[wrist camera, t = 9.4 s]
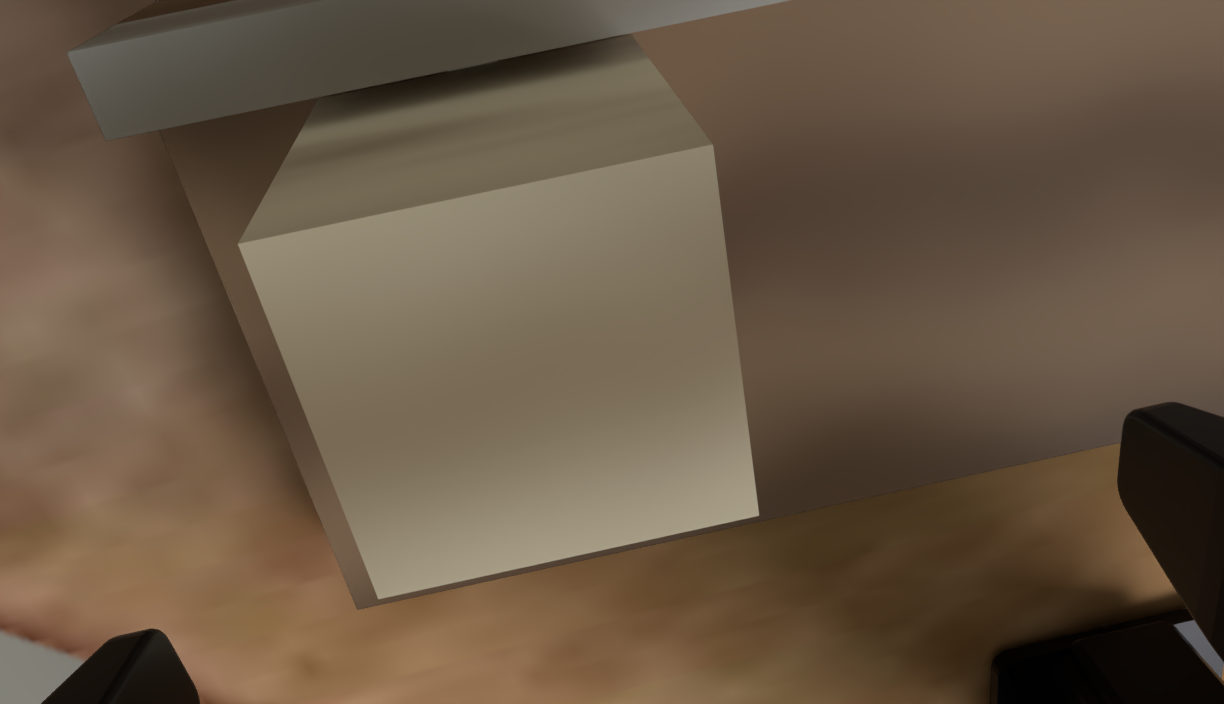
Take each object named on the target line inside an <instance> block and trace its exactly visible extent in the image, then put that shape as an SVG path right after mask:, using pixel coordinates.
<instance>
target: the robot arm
mask: <svg viewBox="0 0 1224 704" xmlns="http://www.w3.org/2000/svg"><path fill="white" fill-rule="evenodd" d="M1117 482H1118V491H1119V495H1120V498H1121V501H1122V503H1123V505H1124V507H1125V509H1126V511H1127V512H1128V514H1129V516H1130V517H1131V519H1132V520H1133V522H1134V524H1135V525H1136V527H1137V528H1138V530H1139V532H1140V533H1141V535H1142V537H1143V538H1144V540H1145V541H1146V543H1147V545H1148V546H1149V548H1150V549H1151V551H1152V553H1153V554H1154V556H1155V558H1156V559H1157V561H1158V562H1159V564H1160V566H1161V567H1162V569H1163V571H1164V572H1165V574H1166V575H1167V577H1168V579H1169V580H1170V582H1171V583H1172V585H1173V587H1174V588H1175V590H1176V592H1177V593H1178V595H1179V596H1180V598H1181V600H1182V601H1183V603H1184V604H1185V606H1186V608H1187V609H1185V610H1180V611H1176V612H1171V613H1167V614H1162V615H1158V616H1154V617H1149V618H1145V619H1140V620H1136V621H1131V622H1127V623H1122V624H1118V625H1113V626H1109V627H1105V628H1100V629H1096V630H1091V631H1087V632H1082V633H1078V634H1073V635H1069V636H1064V637H1060V638H1055V639H1051V640H1047V641H1042V642H1038V643H1033V644H1029V645H1024V646H1020V647H1015V648H1011V649H1008V650H1005V651H1002V652H1001V653H1000V654H998V655H997V656H996V657H995V658H994V659H993V661H992V664H991V685H990V704H1224V681H1223V680H1222V679H1221V676H1222V671H1223V666H1224V417H1222V416H1219V415H1216V414H1213V413H1210V412H1206V411H1203V410H1200V409H1197V408H1194V407H1191V406H1188V405H1185V404H1182V403H1178V402H1165V403H1160V404H1156V405H1151V406H1147V407H1142V408H1138V409H1134V410H1132V411H1131V412H1129V413H1128V414H1127V415H1126V417H1125V419H1124V422H1123V427H1122V437H1121V447H1120V457H1119V468H1118V478H1117ZM41 704H200V700H199V695H198V692H197V689H196V687H195V685H194V683H193V681H192V680H191V678H190V676H189V674H188V673H187V671H186V669H185V667H184V665H183V664H182V662H181V660H180V658H179V657H178V655H177V653H176V651H175V650H174V648H173V646H172V644H171V642H170V641H169V639H168V638H167V636H166V635H165V634H164V633H163V632H161V631H160V630H158V629H146V630H142V631H137V632H133V633H128V634H124V635H119V636H116V637H113V638H111V639H110V640H108V641H107V642H106V643H104V644H103V645H102V646H101V647H100V648H99V649H98V650H97V651H96V652H95V653H94V654H93V655H92V656H91V657H90V658H89V659H88V660H86V661H85V662H84V663H83V664H82V665H81V666H80V667H79V668H78V669H77V670H76V671H75V672H74V673H73V674H72V675H71V676H70V677H69V678H67V679H66V680H65V681H64V682H63V683H62V684H61V685H60V686H59V687H58V688H57V689H56V690H55V691H54V692H53V693H52V694H51V695H50V696H48V697H47V698H46V699H45V700H44V701H43V702H42V703H41Z"/></svg>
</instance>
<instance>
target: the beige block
mask: <svg viewBox="0 0 1224 704" xmlns="http://www.w3.org/2000/svg"><path fill="white" fill-rule="evenodd" d="M238 246H239V248H240V251H241V253H242V256H243V259H244V261H245V264H246V266H247V269H248V271H249V274H250V276H251V279H252V281H253V284H254V286H255V289H256V291H257V294H258V296H259V299H260V301H261V304H262V306H263V309H264V312H265V314H266V317H267V319H268V322H269V324H270V327H271V329H272V332H273V334H274V337H275V339H276V342H277V344H278V347H279V349H280V352H281V354H282V357H283V360H284V362H285V365H286V367H287V370H288V372H289V375H290V377H291V380H292V382H293V385H294V387H295V390H296V392H297V395H298V397H299V400H300V402H301V405H302V408H303V410H304V413H305V415H306V418H307V420H308V423H309V425H310V428H311V430H312V433H313V435H314V438H315V440H316V443H317V445H318V448H319V450H320V453H321V455H322V458H323V461H324V463H325V466H326V468H327V471H328V473H329V476H330V478H331V481H332V483H333V486H334V488H335V491H336V493H337V496H338V498H339V501H340V503H341V506H342V509H343V511H344V514H345V516H346V519H347V521H348V524H349V526H350V529H351V531H352V534H353V536H354V539H355V541H356V544H357V546H358V549H359V551H360V554H361V557H362V559H363V562H364V564H365V567H366V569H367V572H368V574H369V577H370V579H371V582H372V584H373V587H374V589H375V592H376V594H377V597H378V599H383V598H387V597H392V596H396V595H401V594H405V593H410V592H414V591H419V590H423V589H428V588H433V587H437V586H442V585H446V584H451V583H455V582H460V581H464V580H469V579H474V578H478V577H483V576H487V575H492V574H496V573H501V572H505V571H510V570H514V569H519V568H524V567H528V566H533V565H537V564H542V563H546V562H551V561H555V560H560V559H565V558H569V557H574V556H578V555H583V554H587V553H592V552H596V551H601V550H605V549H610V548H615V547H619V546H624V545H628V544H633V543H637V542H642V541H646V540H651V539H656V538H660V537H665V536H669V535H674V534H678V533H683V532H687V531H692V530H697V529H701V528H706V527H710V526H715V525H719V524H724V523H728V522H733V521H737V520H742V519H747V518H751V517H756V516H759V510H758V502H757V494H756V486H755V478H754V470H753V462H752V454H751V446H750V438H749V430H748V421H747V413H746V405H745V397H744V389H743V381H742V373H741V365H740V357H739V349H738V341H737V333H736V325H735V317H734V309H733V301H732V293H731V285H730V277H729V269H728V261H727V253H726V245H725V237H724V229H723V221H722V213H721V205H720V197H719V188H718V180H717V172H716V164H715V156H714V148H713V144H712V142H711V141H710V140H709V138H708V137H707V136H706V134H705V133H704V132H703V130H702V129H701V128H700V126H699V125H698V124H697V122H696V121H695V119H694V118H693V117H692V115H691V114H690V113H689V111H688V110H687V109H686V107H685V106H684V105H683V103H682V102H681V101H680V99H679V98H678V97H677V95H676V94H675V93H674V91H673V90H672V89H671V87H670V86H669V84H668V83H667V82H666V80H665V79H664V78H663V76H662V75H661V74H660V72H659V71H658V70H657V68H656V67H655V66H654V64H653V63H652V62H651V60H650V59H649V58H648V56H647V55H646V53H645V52H644V51H643V49H642V48H641V47H640V45H639V44H638V43H637V41H636V40H635V39H634V37H633V36H632V35H631V34H629V35H624V36H619V37H615V38H610V39H605V40H600V41H595V42H590V43H585V44H581V45H576V46H571V47H566V48H561V49H556V50H552V51H547V52H542V53H537V54H532V55H527V56H522V57H518V58H513V59H508V60H503V61H498V62H493V63H488V64H484V65H479V66H474V67H469V68H464V69H459V70H455V71H450V72H445V73H440V74H435V75H430V76H425V77H421V78H416V79H411V80H406V81H401V82H396V83H391V84H387V85H382V86H377V87H372V88H367V89H362V90H357V91H353V92H348V93H343V94H338V95H333V96H328V97H324V98H319V99H318V101H317V102H316V104H315V106H314V108H313V110H312V111H311V113H310V115H309V117H308V119H307V120H306V122H305V124H304V126H303V128H302V129H301V131H300V133H299V135H298V137H297V138H296V140H295V142H294V144H293V146H292V147H291V149H290V151H289V153H288V155H287V156H286V158H285V160H284V162H283V164H282V165H281V167H280V169H279V171H278V173H277V174H276V176H275V178H274V180H273V182H272V183H271V185H270V187H269V189H268V191H267V192H266V194H265V196H264V198H263V199H262V201H261V203H260V205H259V207H258V208H257V210H256V212H255V214H254V216H253V217H252V219H251V221H250V223H249V225H248V226H247V228H246V230H245V232H244V234H243V235H242V237H241V239H240V241H239V243H238Z"/></svg>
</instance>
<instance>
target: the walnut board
mask: <svg viewBox="0 0 1224 704" xmlns="http://www.w3.org/2000/svg"><path fill="white" fill-rule="evenodd" d="M629 34H631V35H632V36H633V37H634V39H635V40H636V41H637V43H638V44H639V45H640V47H641V48H642V49H643V51H644V52H645V53H646V55H647V56H648V58H649V59H650V60H651V62H652V63H653V64H654V66H655V67H656V68H657V70H658V71H659V72H660V74H661V75H662V76H663V78H664V79H665V80H666V82H667V83H668V84H669V86H670V87H671V89H672V90H673V91H674V93H675V94H676V95H677V97H678V98H679V99H680V101H681V102H682V103H683V105H684V106H685V107H686V109H687V110H688V111H689V113H690V114H691V115H692V117H693V118H694V119H695V121H696V122H697V124H698V125H699V126H700V128H701V129H702V130H703V132H704V133H705V134H706V136H707V137H708V138H709V140H710V141H711V142H712V144H713V148H714V156H715V164H716V172H717V180H718V188H719V197H720V205H721V213H722V221H723V229H724V237H725V245H726V253H727V261H728V269H729V277H730V285H731V293H732V301H733V309H734V317H735V325H736V333H737V341H738V349H739V357H740V365H741V373H742V381H743V389H744V397H745V405H746V413H747V421H748V430H749V438H750V446H751V454H752V462H753V470H754V478H755V486H756V494H757V502H758V510H759V516H756V517H751V518H747V519H742V520H737V521H733V522H728V523H724V524H719V525H715V526H710V527H706V528H701V529H697V530H692V531H687V532H683V533H678V534H674V535H669V536H665V537H660V538H656V539H651V540H646V541H642V542H637V543H633V544H628V545H624V546H619V547H615V548H610V549H605V550H601V551H596V552H592V553H587V554H583V555H578V556H574V557H569V558H565V559H560V560H555V561H551V562H546V563H542V564H537V565H533V566H528V567H524V568H519V569H514V570H510V571H505V572H501V573H496V574H492V575H487V576H483V577H478V578H474V579H469V580H464V581H460V582H455V583H451V584H446V585H442V586H437V587H433V588H428V589H423V590H419V591H414V592H410V593H405V594H401V595H396V596H392V597H387V598H383V599H378V597H377V594H376V592H375V589H374V587H373V584H372V582H371V579H370V577H369V574H368V572H367V569H366V567H365V564H364V562H363V559H362V557H361V554H360V551H359V549H358V546H357V544H356V541H355V539H354V536H353V534H352V531H351V529H350V526H349V524H348V521H347V519H346V516H345V514H344V511H343V509H342V506H341V503H340V501H339V498H338V496H337V493H336V491H335V488H334V486H333V483H332V481H331V478H330V476H329V473H328V471H327V468H326V466H325V463H324V461H323V458H322V455H321V453H320V450H319V448H318V445H317V443H316V440H315V438H314V435H313V433H312V430H311V428H310V425H309V423H308V420H307V418H306V415H305V413H304V410H303V408H302V405H301V402H300V400H299V397H298V395H297V392H296V390H295V387H294V385H293V382H292V380H291V377H290V375H289V372H288V370H287V367H286V365H285V362H284V360H283V357H282V354H281V352H280V349H279V347H278V344H277V342H276V339H275V337H274V334H273V332H272V329H271V327H270V324H269V322H268V319H267V317H266V314H265V312H264V309H263V306H262V304H261V301H260V299H259V296H258V294H257V291H256V289H255V286H254V284H253V281H252V279H251V276H250V274H249V271H248V269H247V266H246V264H245V261H244V259H243V256H242V253H241V251H240V248H239V246H238V243H239V241H240V239H241V237H242V235H243V234H244V232H245V230H246V228H247V226H248V225H249V223H250V221H251V219H252V217H253V216H254V214H255V212H256V210H257V208H258V207H259V205H260V203H261V201H262V199H263V198H264V196H265V194H266V192H267V191H268V189H269V187H270V185H271V183H272V182H273V180H274V178H275V176H276V174H277V173H278V171H279V169H280V167H281V165H282V164H283V162H284V160H285V158H286V156H287V155H288V153H289V151H290V149H291V147H292V146H293V144H294V142H295V140H296V138H297V137H298V135H299V133H300V131H301V129H302V128H303V126H304V124H305V122H306V120H307V119H308V117H309V115H310V113H311V111H312V110H313V108H314V106H315V104H316V102H317V101H318V99H319V98H324V97H328V96H333V95H338V94H343V93H348V92H353V91H357V90H362V89H367V88H372V87H377V86H382V85H387V84H391V83H396V82H401V81H406V80H411V79H416V78H421V77H425V76H430V75H435V74H440V73H445V72H450V71H455V70H459V69H464V68H469V67H474V66H479V65H484V64H488V63H493V62H498V61H503V60H508V59H513V58H518V57H522V56H527V55H532V54H537V53H542V52H547V51H552V50H556V49H561V48H566V47H571V46H576V45H581V44H585V43H590V42H595V41H600V40H605V39H610V38H615V37H619V36H624V35H629ZM67 54H68V57H69V59H70V61H71V63H72V66H73V68H74V70H75V72H76V75H77V77H78V79H79V81H80V84H81V86H82V88H83V91H84V93H85V95H86V97H87V100H88V102H89V104H90V106H91V109H92V111H93V113H94V115H95V118H96V120H97V122H98V124H99V127H100V129H101V131H102V133H103V136H104V138H105V140H106V141H108V140H113V139H118V138H122V137H127V136H132V135H137V134H142V133H147V132H152V131H157V130H159V131H160V133H161V135H162V138H163V140H164V143H165V145H166V148H167V150H168V152H169V155H170V157H171V160H172V162H173V164H174V167H175V169H176V172H177V174H178V177H179V179H180V181H181V184H182V186H183V189H184V191H185V194H186V196H187V198H188V201H189V203H190V206H191V208H192V211H193V213H194V215H195V218H196V220H197V223H198V225H199V227H200V230H201V232H202V235H203V237H204V240H205V242H206V244H207V247H208V249H209V252H210V254H211V257H212V259H213V261H214V264H215V266H216V269H217V271H218V274H219V276H220V278H221V281H222V283H223V286H224V288H225V290H226V293H227V295H228V298H229V300H230V303H231V305H232V307H233V310H234V312H235V315H236V317H237V320H238V322H239V324H240V327H241V329H242V332H243V334H244V337H245V339H246V341H247V344H248V346H249V349H250V351H251V354H252V356H253V358H254V361H255V363H256V366H257V368H258V370H259V373H260V375H261V378H262V380H263V383H264V385H265V387H266V390H267V392H268V395H269V397H270V400H271V402H272V404H273V407H274V409H275V412H276V414H277V417H278V419H279V421H280V424H281V426H282V429H283V431H284V433H285V436H286V438H287V441H288V443H289V446H290V448H291V450H292V453H293V455H294V458H295V460H296V463H297V465H298V467H299V470H300V472H301V475H302V477H303V480H304V482H305V484H306V487H307V489H308V492H309V494H310V496H311V499H312V501H313V504H314V506H315V509H316V511H317V513H318V516H319V518H320V521H321V523H322V526H323V528H324V530H325V533H326V535H327V538H328V540H329V543H330V545H331V547H332V550H333V552H334V555H335V557H336V560H337V562H338V564H339V567H340V569H341V572H342V574H343V576H344V579H345V581H346V584H347V586H348V589H349V591H350V593H351V596H352V598H353V601H354V603H355V606H356V608H357V610H359V609H364V608H368V607H373V606H377V605H382V604H386V603H391V602H395V601H400V600H405V599H409V598H414V597H418V596H423V595H427V594H432V593H436V592H441V591H446V590H450V589H455V588H459V587H464V586H468V585H473V584H478V583H482V582H487V581H491V580H496V579H500V578H505V577H509V576H514V575H519V574H523V573H528V572H532V571H537V570H541V569H546V568H550V567H555V566H560V565H564V564H569V563H573V562H578V561H582V560H587V559H592V558H596V557H601V556H605V555H610V554H614V553H619V552H623V551H628V550H633V549H637V548H642V547H646V546H651V545H655V544H660V543H665V542H669V541H674V540H678V539H683V538H687V537H692V536H696V535H701V534H706V533H710V532H715V531H719V530H724V529H728V528H733V527H737V526H742V525H747V524H751V523H756V522H760V521H765V520H769V519H774V518H779V517H783V516H788V515H792V514H797V513H801V512H806V511H810V510H815V509H820V508H824V507H829V506H833V505H838V504H842V503H847V502H851V501H856V500H861V499H865V498H870V497H874V496H879V495H883V494H888V493H893V492H897V491H902V490H906V489H911V488H915V487H920V486H924V485H929V484H934V483H938V482H943V481H947V480H952V479H956V478H961V477H965V476H970V475H975V474H979V473H984V472H988V471H993V470H997V469H1002V468H1007V467H1011V466H1016V465H1020V464H1025V463H1029V462H1034V461H1038V460H1043V459H1048V458H1052V457H1057V456H1061V455H1066V454H1070V453H1075V452H1080V451H1084V450H1089V449H1093V448H1098V447H1102V446H1107V445H1111V444H1116V443H1121V437H1122V427H1123V422H1124V419H1125V417H1126V415H1127V414H1128V413H1129V412H1131V411H1132V410H1134V409H1138V408H1142V407H1147V406H1151V405H1156V404H1160V403H1165V402H1178V403H1182V404H1185V405H1188V406H1191V407H1194V408H1197V409H1200V410H1203V411H1206V412H1210V413H1213V414H1216V415H1219V416H1222V417H1224V0H165V1H160V2H155V3H153V4H151V5H149V6H147V7H146V8H144V9H142V10H140V11H139V12H137V13H135V14H133V15H132V16H130V17H128V18H126V19H125V20H123V21H121V22H119V23H118V24H116V25H114V26H112V27H111V28H109V29H107V30H105V31H104V32H102V33H100V34H98V35H97V36H95V37H93V38H91V39H90V40H88V41H86V42H84V43H82V44H81V45H79V46H77V47H75V48H74V49H72V50H70V51H68V52H67Z"/></svg>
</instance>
